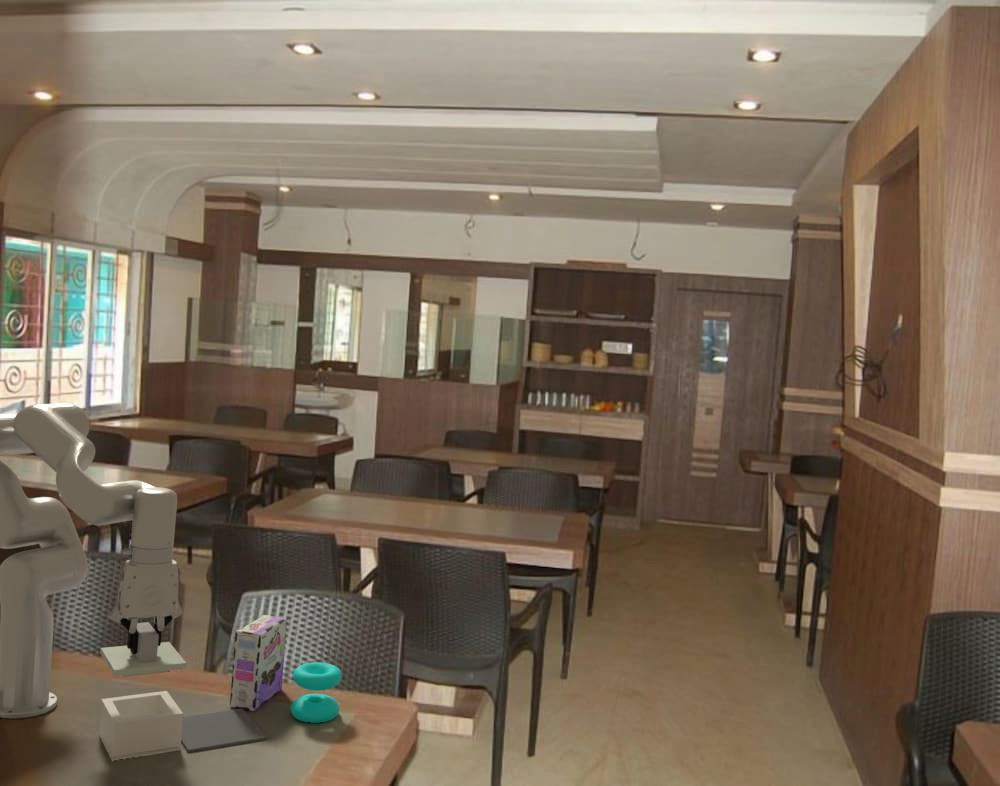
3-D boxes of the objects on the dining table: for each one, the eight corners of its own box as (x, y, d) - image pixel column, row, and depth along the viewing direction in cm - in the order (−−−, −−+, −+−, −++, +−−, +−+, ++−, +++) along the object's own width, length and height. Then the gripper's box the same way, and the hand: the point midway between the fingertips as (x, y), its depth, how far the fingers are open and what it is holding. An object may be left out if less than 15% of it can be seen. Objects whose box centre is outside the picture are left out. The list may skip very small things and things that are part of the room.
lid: (113, 682, 167) (116, 642, 166) (99, 659, 177) (102, 621, 177) (185, 674, 174) (188, 636, 173) (168, 652, 184) (171, 616, 184)
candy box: (254, 712, 194) (260, 634, 193) (228, 707, 195) (233, 630, 195) (282, 689, 208) (288, 616, 207) (258, 685, 209) (263, 613, 208)
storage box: (112, 761, 168) (114, 723, 167) (99, 735, 178) (101, 699, 177) (180, 750, 174) (182, 713, 174) (164, 725, 184) (166, 690, 184)
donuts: (331, 658, 202) (349, 673, 193) (327, 703, 202) (346, 721, 194) (286, 663, 196) (303, 679, 188) (283, 710, 197) (300, 728, 188)
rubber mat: (188, 752, 173) (188, 749, 173) (167, 721, 186) (167, 719, 186) (266, 739, 182) (266, 736, 182) (241, 711, 194) (242, 708, 194)
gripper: (108, 561, 167) (100, 662, 168) (201, 557, 176) (193, 653, 177) (100, 551, 173) (92, 648, 174) (190, 548, 182) (182, 640, 183)
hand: (143, 649), depth 175 cm, fingers closed on lid, 3 cm apart
